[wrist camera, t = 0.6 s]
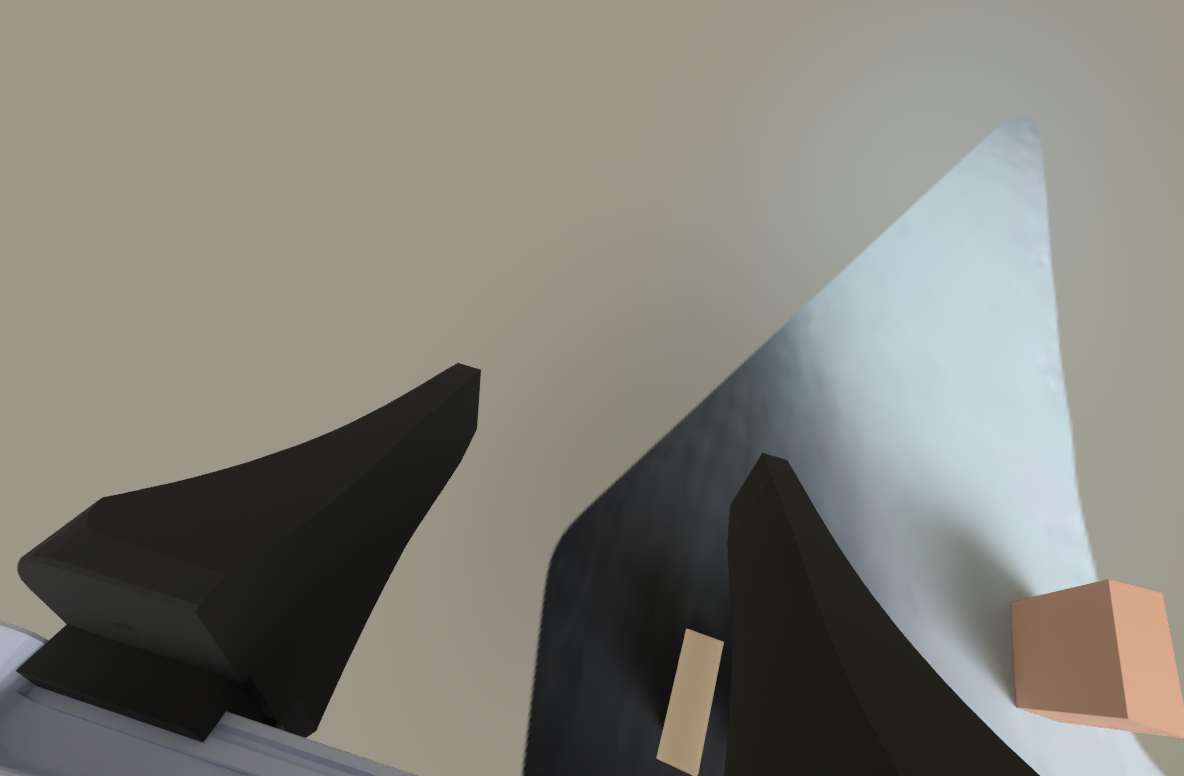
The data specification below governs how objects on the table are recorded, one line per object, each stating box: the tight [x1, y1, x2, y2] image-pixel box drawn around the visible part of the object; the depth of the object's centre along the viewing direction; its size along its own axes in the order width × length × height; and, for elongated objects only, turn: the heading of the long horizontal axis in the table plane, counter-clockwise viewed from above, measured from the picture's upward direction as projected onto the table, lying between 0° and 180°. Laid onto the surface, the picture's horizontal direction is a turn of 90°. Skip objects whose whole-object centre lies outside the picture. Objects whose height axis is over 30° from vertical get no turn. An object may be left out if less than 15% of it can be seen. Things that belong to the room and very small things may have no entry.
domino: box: [657, 628, 724, 776], centre depth 22 cm, size 2×5×7 cm, turn 161°
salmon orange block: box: [1011, 579, 1184, 738], centre depth 20 cm, size 2×5×7 cm, turn 161°
